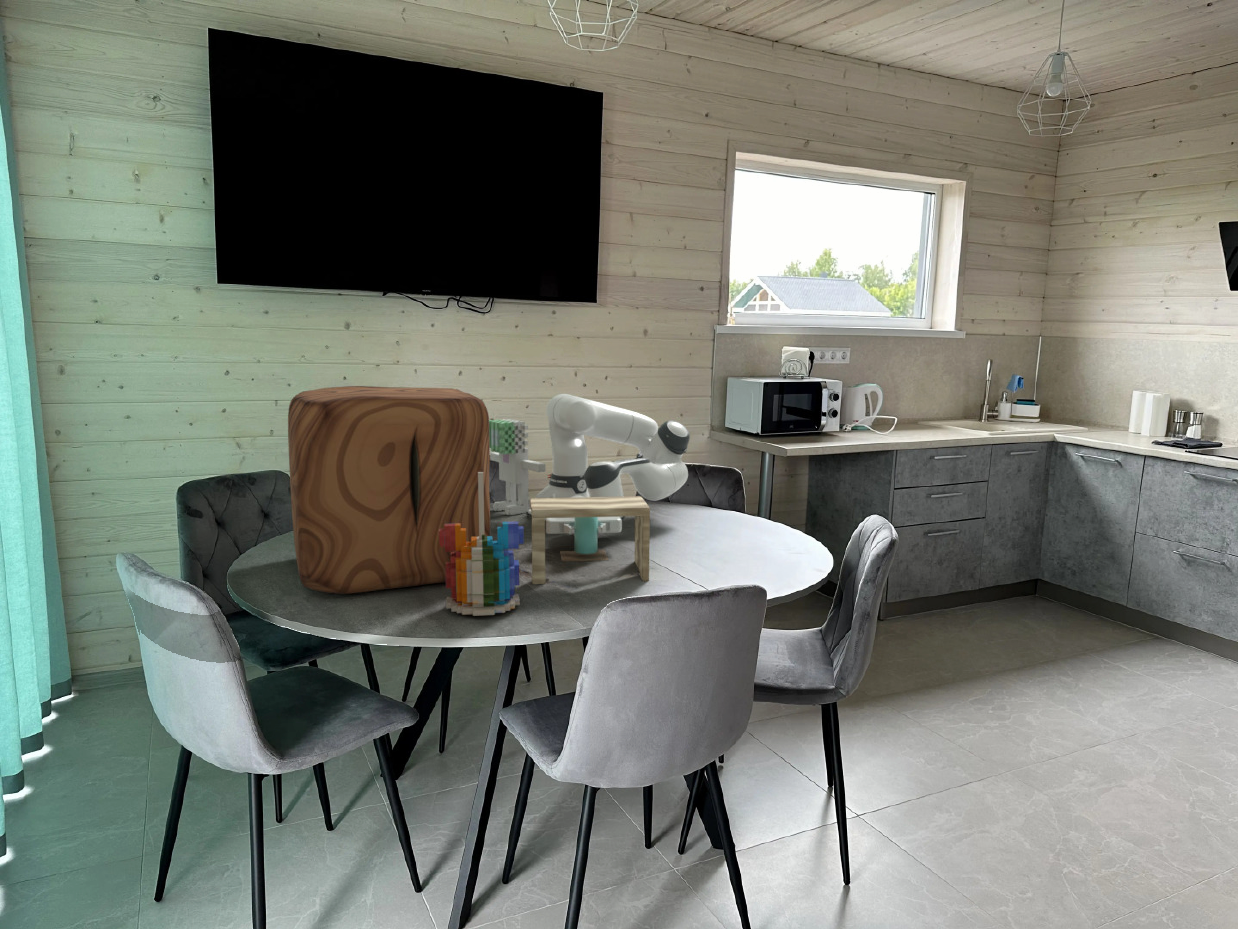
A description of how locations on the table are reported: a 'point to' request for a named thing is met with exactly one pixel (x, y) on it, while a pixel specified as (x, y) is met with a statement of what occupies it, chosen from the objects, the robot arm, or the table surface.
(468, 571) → the toy
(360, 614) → the table surface
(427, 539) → the brown wooden cube stool
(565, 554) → the tray
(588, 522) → the mint green cylinder
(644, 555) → the wooden step stool
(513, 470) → the toy
